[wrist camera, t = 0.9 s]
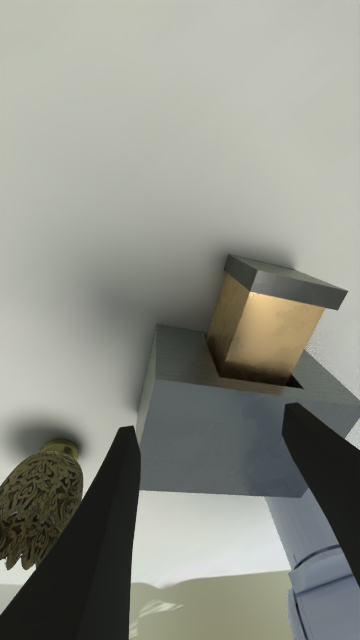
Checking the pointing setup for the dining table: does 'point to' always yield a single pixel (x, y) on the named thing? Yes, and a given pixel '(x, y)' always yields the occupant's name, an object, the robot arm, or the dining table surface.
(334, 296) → the sliding drawer
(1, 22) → the dining table surface
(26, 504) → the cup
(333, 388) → the housing
